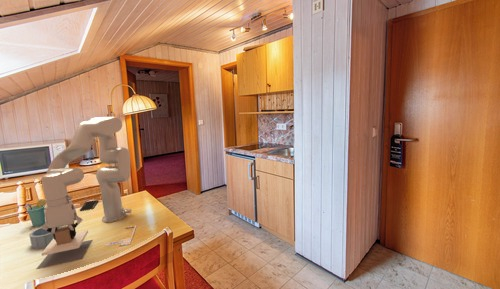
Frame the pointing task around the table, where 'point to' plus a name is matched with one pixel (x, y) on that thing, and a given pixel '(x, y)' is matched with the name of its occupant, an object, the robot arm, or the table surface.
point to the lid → (64, 241)
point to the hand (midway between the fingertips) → (65, 238)
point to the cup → (37, 213)
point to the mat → (65, 256)
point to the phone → (89, 205)
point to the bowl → (40, 238)
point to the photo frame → (123, 240)
